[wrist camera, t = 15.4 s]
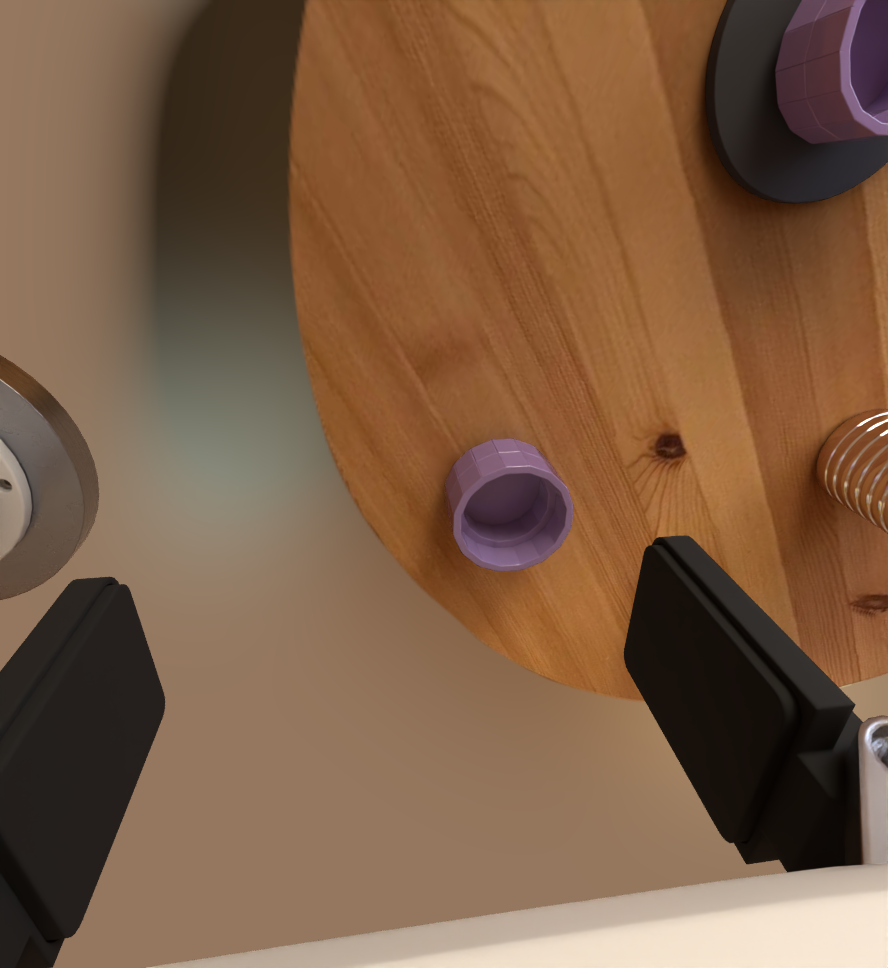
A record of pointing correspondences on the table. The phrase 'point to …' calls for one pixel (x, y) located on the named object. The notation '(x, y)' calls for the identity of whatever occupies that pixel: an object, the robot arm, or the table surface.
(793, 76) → the dish
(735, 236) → the table surface
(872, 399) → the table surface
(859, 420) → the water bottle
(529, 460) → the dish
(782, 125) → the coaster
